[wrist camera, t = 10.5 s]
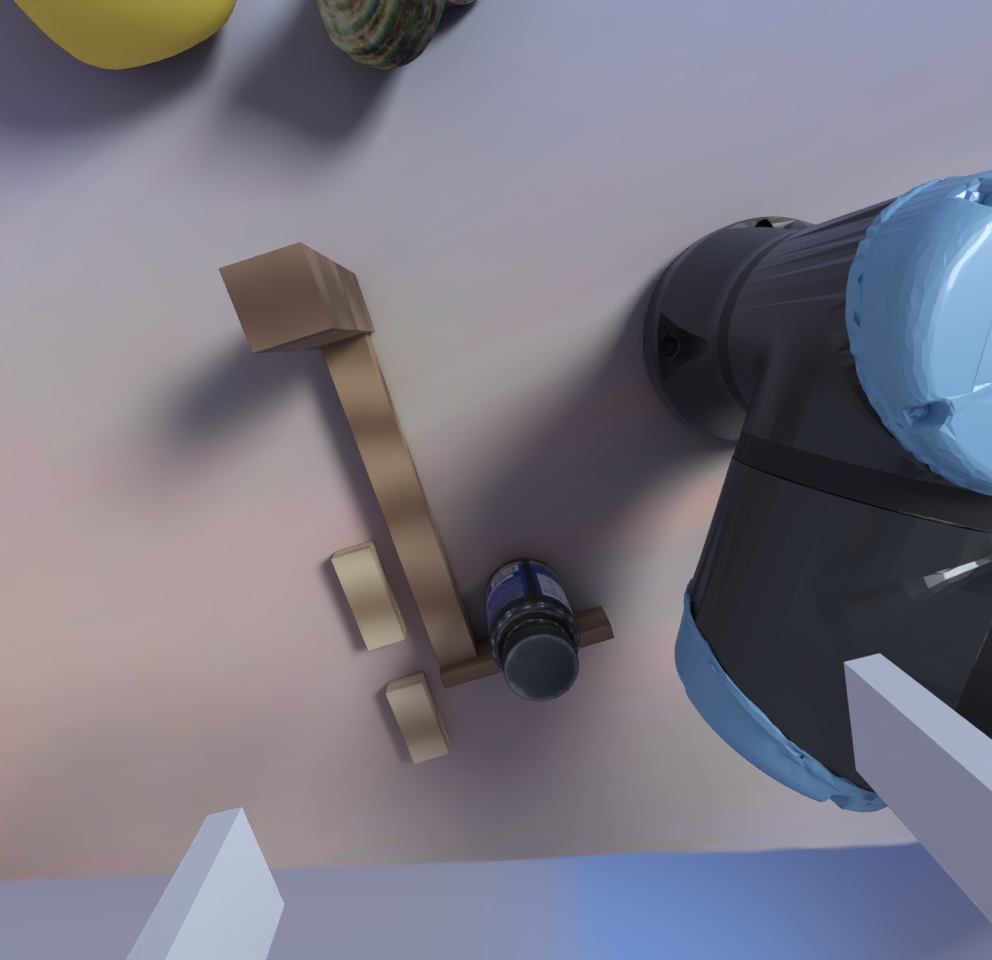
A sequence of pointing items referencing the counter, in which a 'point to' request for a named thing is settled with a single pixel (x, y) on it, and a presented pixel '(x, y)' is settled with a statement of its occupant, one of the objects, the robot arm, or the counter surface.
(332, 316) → the wooden stand
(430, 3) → the seashell
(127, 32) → the yellow faceted lidded jar
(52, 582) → the counter surface
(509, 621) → the pill bottle
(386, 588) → the broken strip
